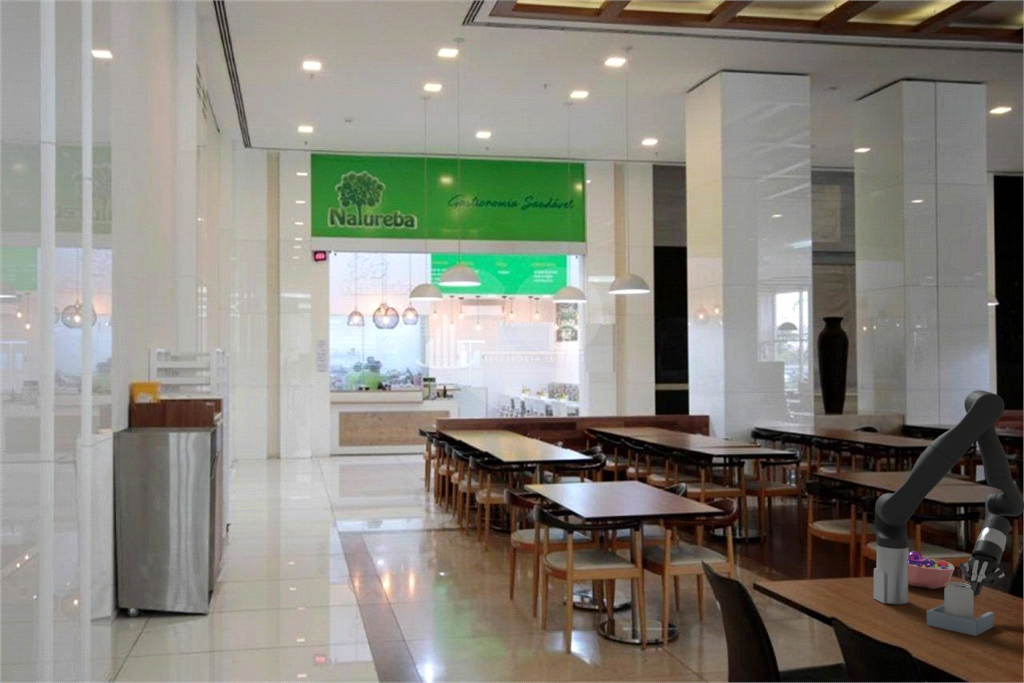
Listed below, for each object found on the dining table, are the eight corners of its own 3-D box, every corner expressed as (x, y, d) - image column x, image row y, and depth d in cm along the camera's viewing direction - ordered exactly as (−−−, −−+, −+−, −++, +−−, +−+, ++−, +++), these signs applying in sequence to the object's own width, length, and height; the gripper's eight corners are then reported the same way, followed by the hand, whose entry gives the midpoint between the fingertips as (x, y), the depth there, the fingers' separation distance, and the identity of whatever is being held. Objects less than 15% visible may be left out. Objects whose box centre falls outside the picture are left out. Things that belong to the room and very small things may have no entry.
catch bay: (945, 616, 272) (945, 602, 272) (993, 626, 262) (993, 612, 262) (926, 624, 263) (926, 610, 263) (975, 635, 253) (976, 621, 253)
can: (975, 631, 257) (975, 588, 257) (945, 628, 260) (945, 585, 260) (971, 624, 264) (971, 582, 264) (942, 621, 267) (943, 579, 267)
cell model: (932, 597, 293) (932, 561, 293) (881, 583, 311) (881, 549, 311) (967, 591, 301) (967, 556, 301) (915, 577, 319) (915, 545, 319)
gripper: (963, 535, 281) (946, 582, 272) (1010, 542, 271) (993, 591, 263) (970, 550, 284) (953, 597, 276) (1016, 558, 274) (1000, 607, 266)
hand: (973, 594), depth 269 cm, fingers closed
